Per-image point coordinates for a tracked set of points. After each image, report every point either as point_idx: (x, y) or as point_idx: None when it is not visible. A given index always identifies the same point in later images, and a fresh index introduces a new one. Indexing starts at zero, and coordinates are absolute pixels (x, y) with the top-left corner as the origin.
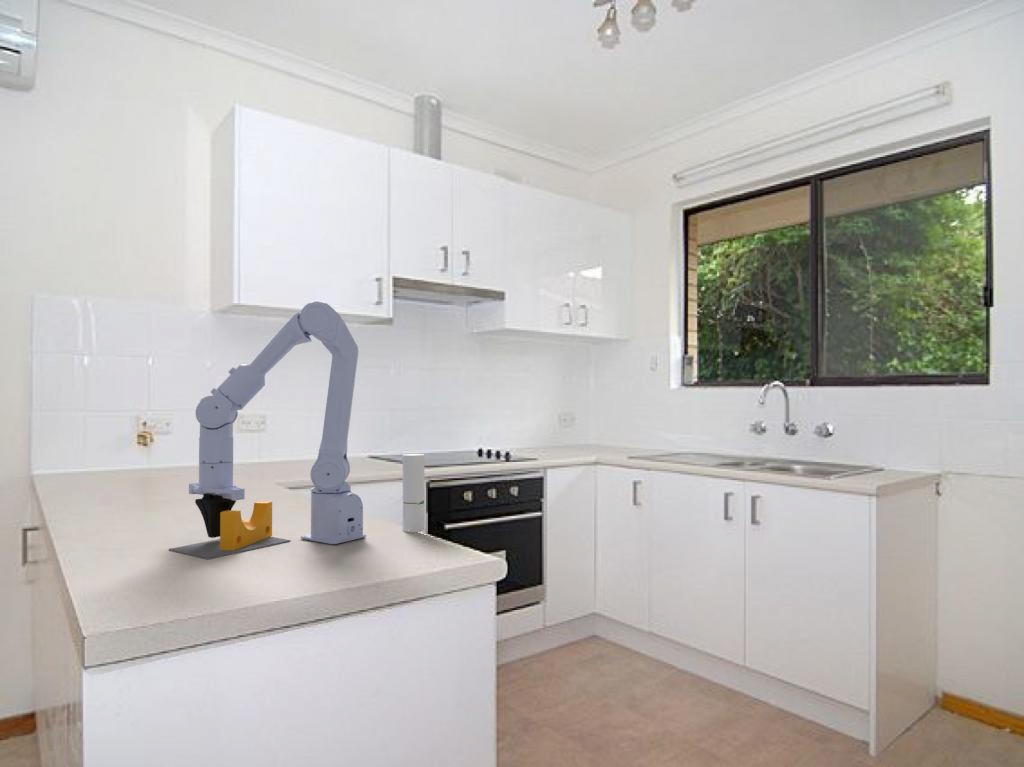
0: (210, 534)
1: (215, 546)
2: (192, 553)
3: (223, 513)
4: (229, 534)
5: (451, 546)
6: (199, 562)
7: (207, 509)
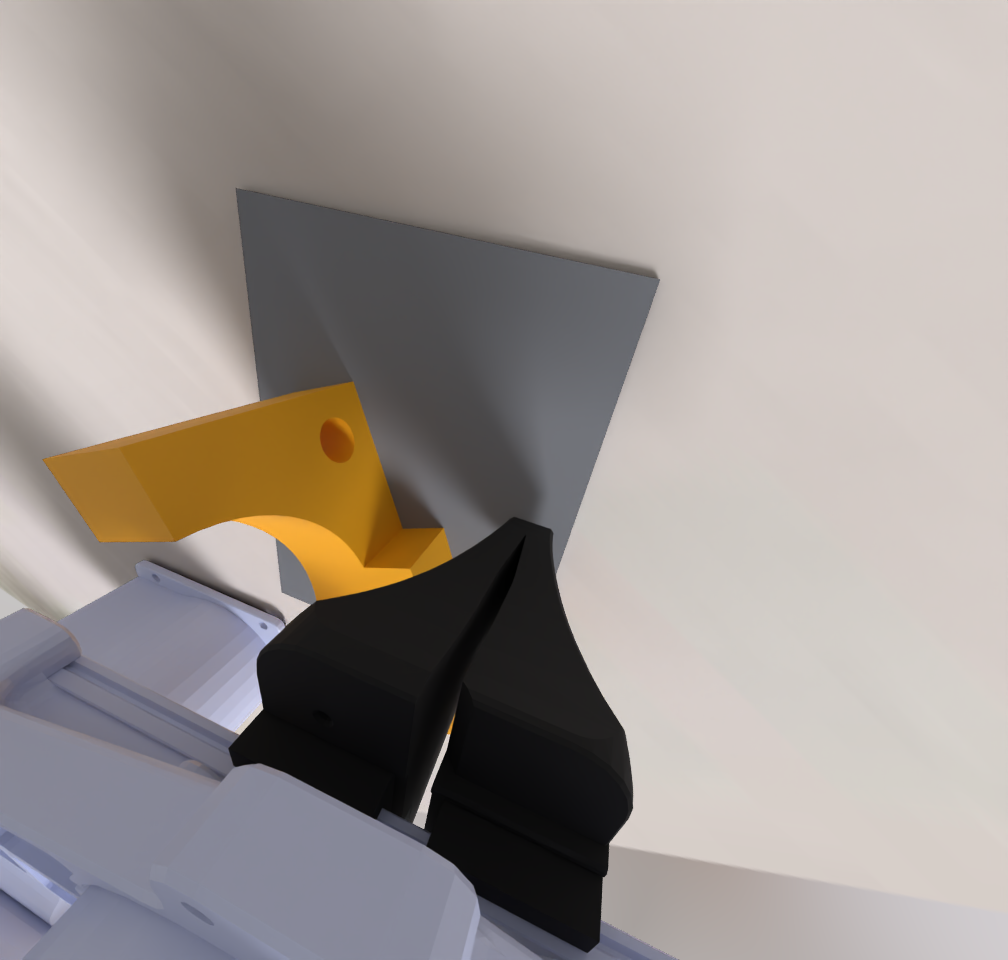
0: (519, 525)
1: (435, 436)
2: (399, 242)
3: (113, 447)
4: (241, 408)
5: (3, 587)
6: (220, 111)
7: (425, 607)
